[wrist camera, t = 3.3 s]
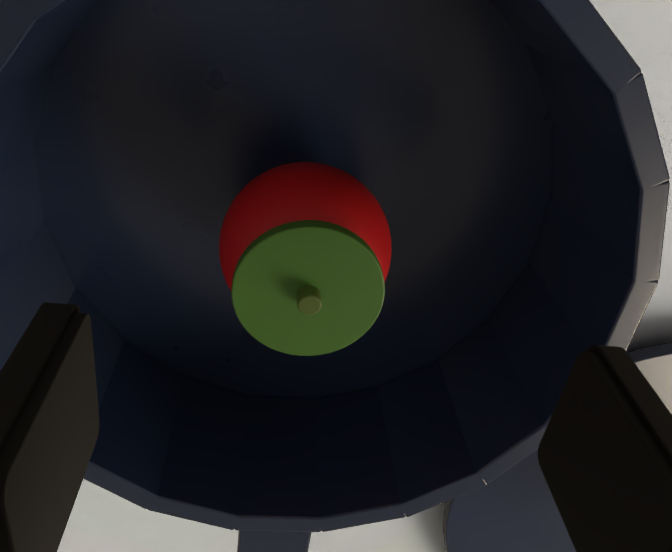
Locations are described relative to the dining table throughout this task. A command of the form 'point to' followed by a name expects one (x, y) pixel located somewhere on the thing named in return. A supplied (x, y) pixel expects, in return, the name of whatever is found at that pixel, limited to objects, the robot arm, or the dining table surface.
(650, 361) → the lid
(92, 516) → the dining table surface
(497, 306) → the pot
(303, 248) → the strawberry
